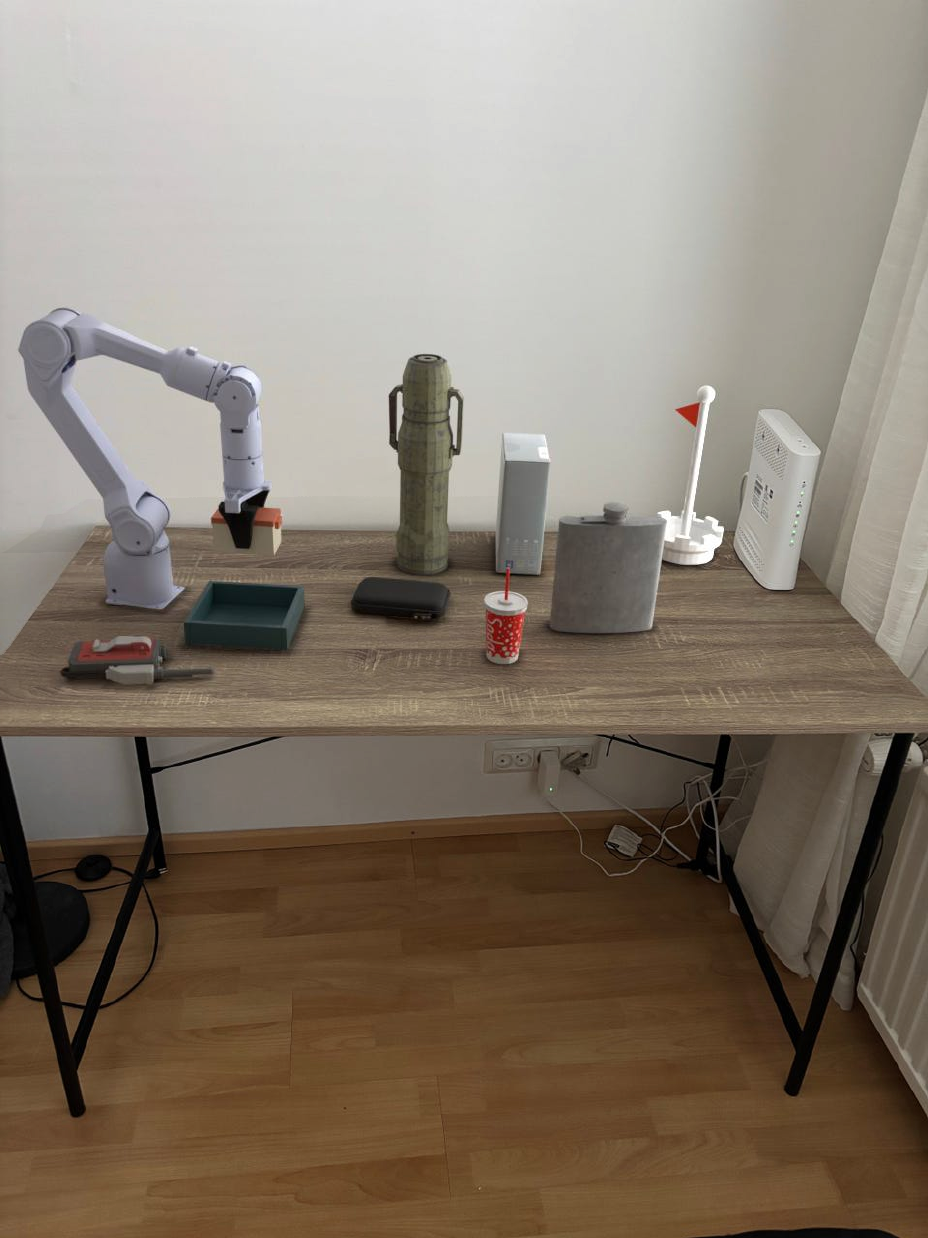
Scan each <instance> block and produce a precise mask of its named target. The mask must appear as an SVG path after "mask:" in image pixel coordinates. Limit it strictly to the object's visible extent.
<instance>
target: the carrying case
mask: <svg viewBox="0 0 928 1238" xmlns="http://www.w3.org/2000/svg"><path fill="white" fill-rule="evenodd" d="M451 595H452V594H451V590H450V589H449V588H448V587H447V585H445V584H444V583H442V582H437V581H425V580H417V579H416V580H414V579H404V578H391V577H380V576H379V577H378V576H368V577H365V578H363V579H362V580H361V581H360V582H359V583H358V584H357V587H356V589H355V591H354V594H353V596H352V597H351V600H350V606H351V608H352V609H353V610H355V612H357V613H359V614H367V615H378V616H386V617H388V618H401V619H410V620H411V619H412V620H413V621H419V620H423V621H436V620H439V619H440V618H442V617H443V616H444V615H445V614H446V612H447V610H448V606H449V603H450V599H451Z"/></svg>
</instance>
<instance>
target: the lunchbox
mask: <svg viewBox="0 0 928 1238" xmlns="http://www.w3.org/2000/svg"><path fill="white" fill-rule="evenodd" d="M281 514H282V508H280V507H279V508H277V507H264V508H263V507H259V508H258V510H257V513H256V516H255V519H254V523H253V532H252V542H251V546H250V548H249V549H240V548H236V547H235V545H234V542H233V539H232V536H231V532H230V530H229V527H228V525H227V523H226V521H225V519H224V518H223V516H222V515H221V514H220V512H219V508H217V509H216V510H215V511H214V513H213V514H212V515H211V516H210V523H211V526H212V538H213V539H212V541H213V551H214V553H226V554H240V555H241V554H243V555H258V556H275V555H276V552H277V551H278V549H279V547H280V546H281V544H282V525H283V516H282V515H281Z"/></svg>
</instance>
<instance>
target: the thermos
mask: <svg viewBox="0 0 928 1238" xmlns="http://www.w3.org/2000/svg"><path fill="white" fill-rule="evenodd" d="M399 392H400V393H401V394H402V395H401V396H402V397H401V399H402V400H401V405H402V408H403V410H402V411H403V412H402V414H401V424H400V426H399V430H398V393H399ZM452 397H455V399H456V400H457V419H456V420H457V421H456V422H457V424H456V444H454V432H453V429H452V425H451V416H450V409H451V405H452V404H451V403H452ZM464 401H465V398H464V395H463V394H462V392H461V391H460V389H457V388H455V386H452V374H451V370H450V366H449V363H448V360H447V359H446V358H444V357H442V356H441V355H439V354H432V353H419V354H415V355H412V356H411V357H409V358H408V359H407V362H406V364H405V367H404V370H403V375H402V383H401V384H396V386H394V387H393V389H392V390H391V391H390V392H389V394H388V422H389V423H388V425H389V426H388V427H389V434H388V435H389V437H388V438H389V439H388V444H389V446H390V447H391V448H392V449H393V450H394V451H395V452H396V453H397V466H398V468H399V470H400V477H399V479H400V481H399V483H400V485H399V488H400V489H399V526H398V528H397V531H396V534H395V535H396V537H395V540H396V541H395V542H396V544H395V545H396V546H395V550H396V554H397V559H396V565H397V568H398V569H400V570H401V571H403V572H405V573H408V574H413V575H422V576H428V575H434V574H435V575H436V574H439V573H441V572H444V571H445V570H446V569H448V565H449V560H448V559H449V556H448V555H449V553H450V543H451V542H450V541H451V531H450V528H449V524H448V510H449V509H448V508H449V507H448V506H449V483H450V482H449V481H450V479H449V478H450V477H449V476H450V471H451V469H452V466H453V458H454V456H461V452H462V445H463V426H464V424H463V423H464V405H465V403H464Z"/></svg>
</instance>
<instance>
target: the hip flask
mask: <svg viewBox="0 0 928 1238" xmlns="http://www.w3.org/2000/svg"><path fill="white" fill-rule="evenodd" d="M602 509H603V511H602V512H603V515H579V516H576V515H565V516H561V517H560V518H559V519H558V528H557V538H556V539H557V540H556V551H555V562H554V574H553V584H552V595H551V605H550V617H549V628H550V629H551V630H552V631H556V632H562V633H574V634H575V633H577V634H622V633H623V634H624V633H634V632H635V633H636V632H637V633H638V632H645V631H649V630H652V628H653V624H654V623H653V622H654V615H655V608H656V602H657V595H658V587H659V581H660V575H661V567H662V561H663V560H662V554H663V547H664V540H665V533H666V526H667V520H666V519H665V518H662V517H658V516H657V515H650V516H649V515H647V516H634V517H633V516H632V517H627V516H628V515H629V509H630V507H629V505H627V504H625V503H622V502H619V501H618V502H617V501H615V502H614V501H610V502H606V503H603V508H602Z"/></svg>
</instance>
